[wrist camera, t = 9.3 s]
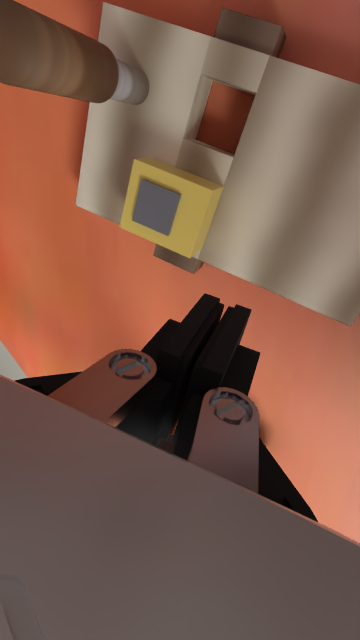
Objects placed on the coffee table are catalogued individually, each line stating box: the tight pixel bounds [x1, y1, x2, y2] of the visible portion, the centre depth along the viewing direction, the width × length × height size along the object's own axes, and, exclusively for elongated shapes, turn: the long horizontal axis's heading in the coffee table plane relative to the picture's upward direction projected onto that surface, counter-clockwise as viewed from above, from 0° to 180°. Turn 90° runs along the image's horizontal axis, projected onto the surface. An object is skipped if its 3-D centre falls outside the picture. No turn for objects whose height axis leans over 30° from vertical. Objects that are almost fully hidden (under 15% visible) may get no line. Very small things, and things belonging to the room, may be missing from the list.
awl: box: [0, 0, 149, 105], centre depth 20 cm, size 3×3×12 cm
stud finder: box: [120, 158, 224, 258], centre depth 26 cm, size 6×5×3 cm
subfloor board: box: [76, 2, 360, 326], centre depth 26 cm, size 25×17×3 cm
